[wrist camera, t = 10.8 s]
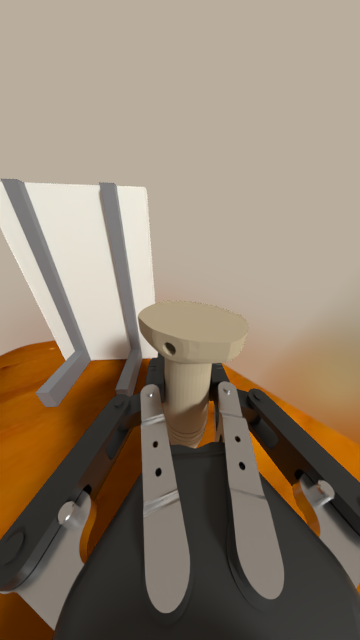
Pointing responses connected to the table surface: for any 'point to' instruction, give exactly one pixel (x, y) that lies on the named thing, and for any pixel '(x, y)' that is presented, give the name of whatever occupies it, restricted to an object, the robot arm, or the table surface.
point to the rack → (84, 272)
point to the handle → (190, 358)
